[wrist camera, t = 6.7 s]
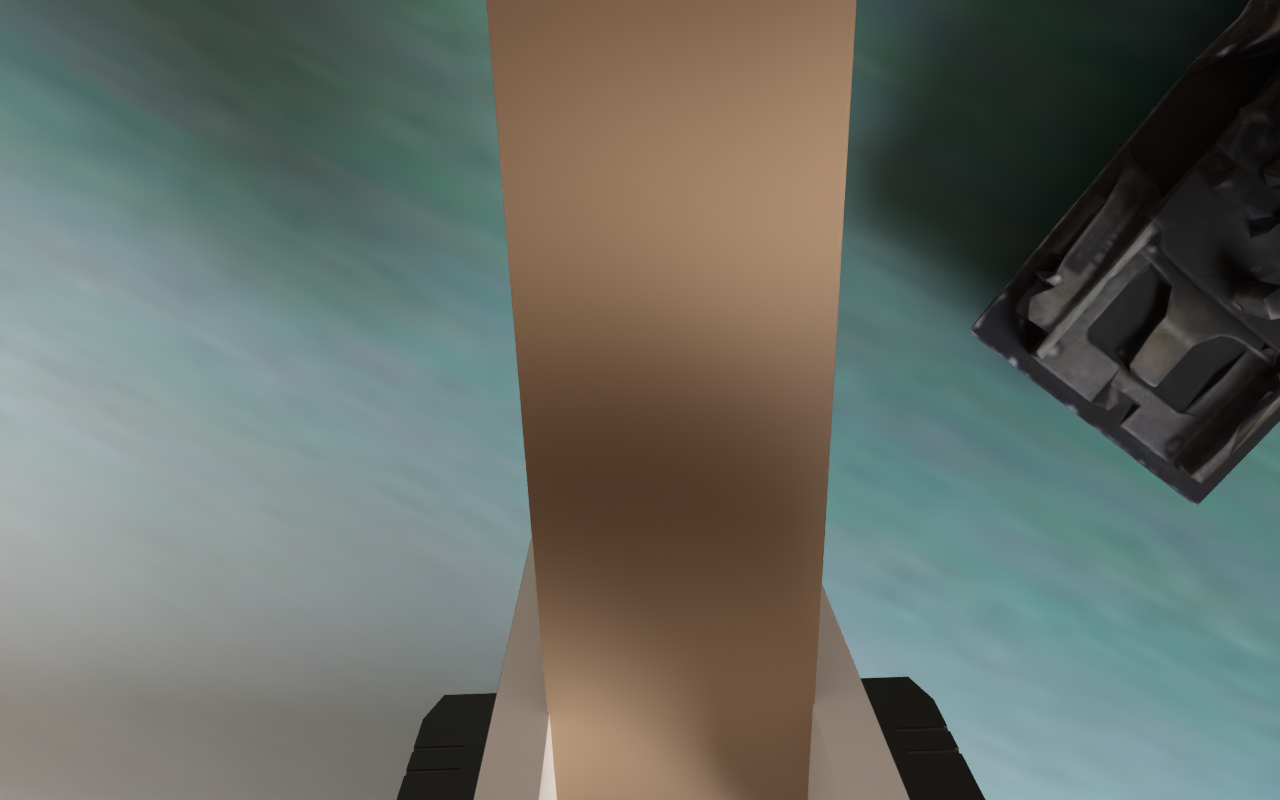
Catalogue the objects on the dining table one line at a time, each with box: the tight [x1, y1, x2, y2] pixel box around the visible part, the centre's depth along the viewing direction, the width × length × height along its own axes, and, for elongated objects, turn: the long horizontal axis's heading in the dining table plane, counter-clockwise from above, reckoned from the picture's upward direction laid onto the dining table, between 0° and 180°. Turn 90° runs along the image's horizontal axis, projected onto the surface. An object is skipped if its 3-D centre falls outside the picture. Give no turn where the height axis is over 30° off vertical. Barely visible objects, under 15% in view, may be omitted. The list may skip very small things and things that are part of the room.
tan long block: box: [486, 0, 857, 800], centre depth 12 cm, size 15×6×5 cm, turn 2°
